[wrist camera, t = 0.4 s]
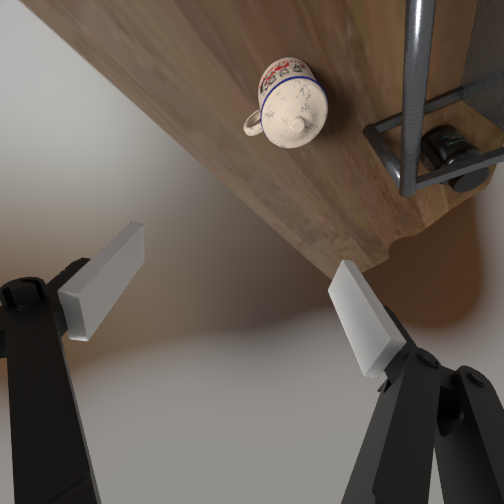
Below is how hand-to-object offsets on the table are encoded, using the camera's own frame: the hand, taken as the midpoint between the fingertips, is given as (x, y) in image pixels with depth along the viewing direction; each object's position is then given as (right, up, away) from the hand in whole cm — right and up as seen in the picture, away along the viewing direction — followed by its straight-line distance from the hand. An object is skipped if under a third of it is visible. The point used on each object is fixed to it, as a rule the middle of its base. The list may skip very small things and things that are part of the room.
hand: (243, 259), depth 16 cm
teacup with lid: (+5, +25, +22) cm, 34 cm away
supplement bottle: (+35, +22, +30) cm, 51 cm away
